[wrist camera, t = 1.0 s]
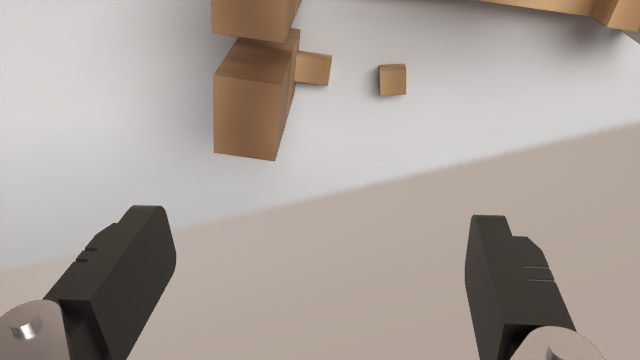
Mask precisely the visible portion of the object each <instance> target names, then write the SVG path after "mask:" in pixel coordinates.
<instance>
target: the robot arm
mask: <svg viewBox="0 0 640 360" xmlns="http://www.w3.org/2000/svg"><path fill="white" fill-rule="evenodd" d="M175 266H176V251H175V247H174V242H173V238H172V234H171V230H170V226H169V222H168V218H167V214H166V211H165V209H164V208H163V207H162V206H143V205H134V206H132V207H130V208H129V210H128V211H127V212H126V213H125V215H124V216H123V217H122V218H121V220H120V221H119V222H118V223H113V224H111V225H110V226H108V227H107V228H105V229H104V230H102V231H101V232H99V233H98V234H96V235H95V237H94V238H93V239H92V240H91V241H90V243H89V244H88V245H87V246H86V247H85V251H82V252H81V253H80V255H79V256H78V257H77V258H76V262H73V263H72V264H71V265H70V267H69V268H68V269H67V270H66V271H65V273H64V274H63V275H62V276H61V278H60V279H59V280H58V281H57V282H56V284H55V285H54V286H53V287H52V288H51V290H50V291H49V292H48V293H47V294H46V296H45V297H44V298H43V299H42V300H35V301H30V302H27V303H24V304H21V305H19V306H17V307H15V308H13V309H11V310H10V311H8V312H7V313H5V314H4V315H3V316H1V317H0V360H126V359H127V357H128V356H129V354H130V352H131V350H132V348H133V346H134V345H135V343H136V341H137V339H138V337H139V335H140V334H141V332H142V330H143V328H144V326H145V325H146V323H147V321H148V319H149V317H150V315H151V313H152V312H153V310H154V308H155V306H156V304H157V303H158V301H159V299H160V297H161V295H162V293H163V292H164V290H165V288H166V286H167V284H168V282H169V281H170V278H171V277H172V275H173V273H174V270H175ZM465 285H466V291H467V297H468V301H469V307H470V312H471V317H472V321H473V327H474V332H475V337H476V342H477V347H478V352H479V357H480V360H605V359H604V357H603V355H602V353H601V352H600V350H599V349H598V348H597V347H596V345H594V344H593V343H592V342H591V341H590V340H589V339H587V338H586V337H584V336H582V335H581V334H579V333H577V331H576V329H575V327H574V324H573V322H572V320H571V317H570V315H569V313H568V310H567V308H566V306H565V303H564V301H563V299H562V296H561V294H560V292H559V289H558V287H557V284H556V283H554V278H553V275H552V273H551V271H550V270H549V266H548V263H547V261H546V259H545V256H544V254H543V252H542V250H541V249H540V248H539V247H538V246H537V245H535V244H534V243H533V242H532V241H531V240H530V239H529V238H528V237H519V236H512V234H511V231H510V228H509V226H508V223H507V220H506V218H505V216H497V215H495V216H494V215H473V216H472V218H471V223H470V231H469V239H468V246H467V254H466V261H465Z"/></svg>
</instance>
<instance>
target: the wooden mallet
mask: <svg viewBox="0 0 640 360" xmlns="http://www.w3.org/2000/svg"><path fill="white" fill-rule="evenodd" d="M479 1H486V2H493V3H500V4H507V5H514V6H520V7H527V8H534V9H541V10H548V11H555V12H562V13H569V14H576V15H583V16H590V17H593V18H595V19H596V20H597V21H599V22H600V23H602V24H603V25H604V26H606V27H609V28H615V29H622V30H629V31H636V32H637V31H638V29H639V27H640V0H479ZM300 2H301V0H212V33H217V34H224V35H231V36H238V37H245V38H252V39H259V40H266V41H273V42H280V43H284V41H285V39H286V37H287V34H288V32H289V29H290V27H291V24H292V22H293V19H294V17H295V15H296V12H297V10H298V7H299V5H300Z"/></svg>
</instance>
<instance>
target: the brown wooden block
mask: <svg viewBox="0 0 640 360" xmlns="http://www.w3.org/2000/svg"><path fill="white" fill-rule="evenodd" d="M299 39H300V30H298V29H291V28H290V29H289V32H288V34H287V37H286V39H285V41H284V43H280V42H273V41H266V40H259V39H252V38H245V37H239V38H238V39H237V41H236V42H235V44H234V45H233V47H232V48H231V50H230V51H229V53H228V54H227V56H226V58H225V59H224V61H223V62H222V64H221V65H220V67H219V68H218V70H217V71H216V73H215V74H214V153H220V154H227V155H234V156H241V157H248V158H255V159H262V160H269V161H275V159H276V156H277V152H278V149H279V145H280V142H281V138H282V135H283V131H284V128H285V124H286V120H287V117H288V113H289V110H290V106H291V103H292V99H293V96H294V90H295V81H296V82H303V83H310V84H317V85H324V86H328V80H329V73H330V66H331V58H332V56H331V55H324V54H317V53H310V52H303V51H298V49H299ZM379 73H380V96H385V95H404V94H406V67H405V64H393V65H379Z"/></svg>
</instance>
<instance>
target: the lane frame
mask: <svg viewBox="0 0 640 360" xmlns="http://www.w3.org/2000/svg"><path fill="white" fill-rule="evenodd" d="M619 30H621V31H622V32H623V33H625V34H626V35H628V36H629V37H630V38H632V39H633V40H635V41H636V42H638V43H639V44H640V27H639V29H638V31H637V32H636V31H629V30H622V29H619Z"/></svg>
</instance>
